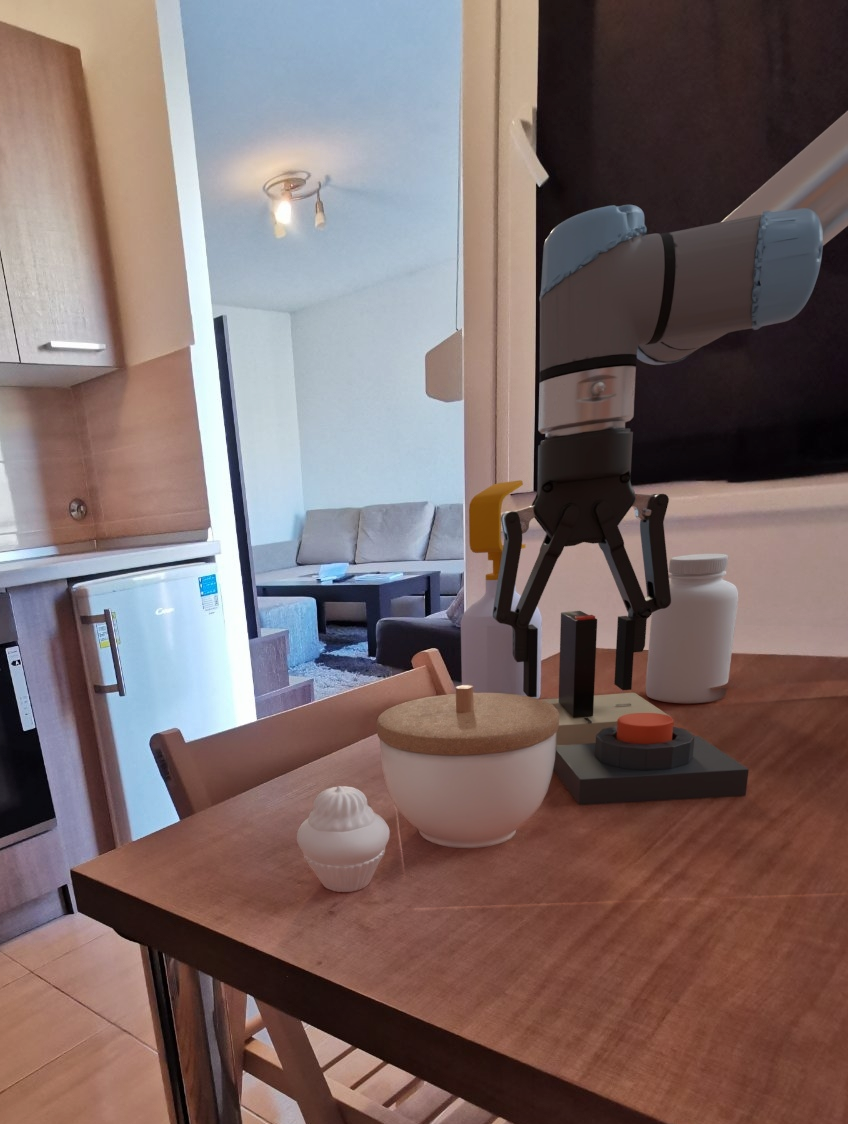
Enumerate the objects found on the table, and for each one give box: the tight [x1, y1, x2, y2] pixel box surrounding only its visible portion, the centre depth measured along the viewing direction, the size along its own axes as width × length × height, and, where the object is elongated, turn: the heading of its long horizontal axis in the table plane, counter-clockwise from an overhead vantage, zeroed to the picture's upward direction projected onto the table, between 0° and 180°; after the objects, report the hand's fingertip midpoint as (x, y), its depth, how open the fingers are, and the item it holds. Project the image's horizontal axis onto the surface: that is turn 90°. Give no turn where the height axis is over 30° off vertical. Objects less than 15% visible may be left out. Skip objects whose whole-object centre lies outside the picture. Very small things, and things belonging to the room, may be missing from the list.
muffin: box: [296, 785, 391, 893], centre depth 51 cm, size 6×6×7 cm
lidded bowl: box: [376, 684, 559, 849], centre depth 56 cm, size 13×13×11 cm
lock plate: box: [542, 692, 670, 746], centre depth 75 cm, size 14×10×3 cm
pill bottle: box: [645, 553, 739, 705], centre depth 82 cm, size 8×8×15 cm
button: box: [616, 713, 675, 744], centre depth 61 cm, size 4×4×2 cm
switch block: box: [553, 726, 750, 806], centre depth 62 cm, size 12×9×4 cm
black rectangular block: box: [558, 610, 598, 717], centre depth 72 cm, size 6×2×9 cm, turn 172°
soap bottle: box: [460, 479, 543, 699], centre depth 88 cm, size 9×9×25 cm
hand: (575, 690), depth 73 cm, fingers open, 8 cm apart
